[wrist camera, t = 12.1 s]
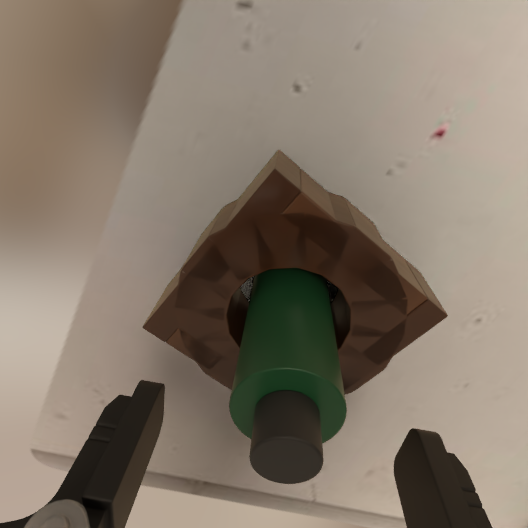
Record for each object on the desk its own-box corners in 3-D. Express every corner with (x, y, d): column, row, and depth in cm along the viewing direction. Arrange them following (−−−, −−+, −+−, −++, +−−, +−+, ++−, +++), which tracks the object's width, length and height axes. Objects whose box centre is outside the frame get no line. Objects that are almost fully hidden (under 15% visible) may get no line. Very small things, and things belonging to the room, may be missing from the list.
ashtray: (160, 285, 21) (132, 328, 18) (278, 139, 17) (273, 155, 13) (297, 379, 24) (297, 432, 20) (429, 272, 19) (459, 315, 16)
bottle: (240, 282, 21) (193, 461, 11) (286, 233, 19) (278, 393, 9) (293, 321, 22) (292, 517, 12) (341, 277, 20) (384, 462, 10)
